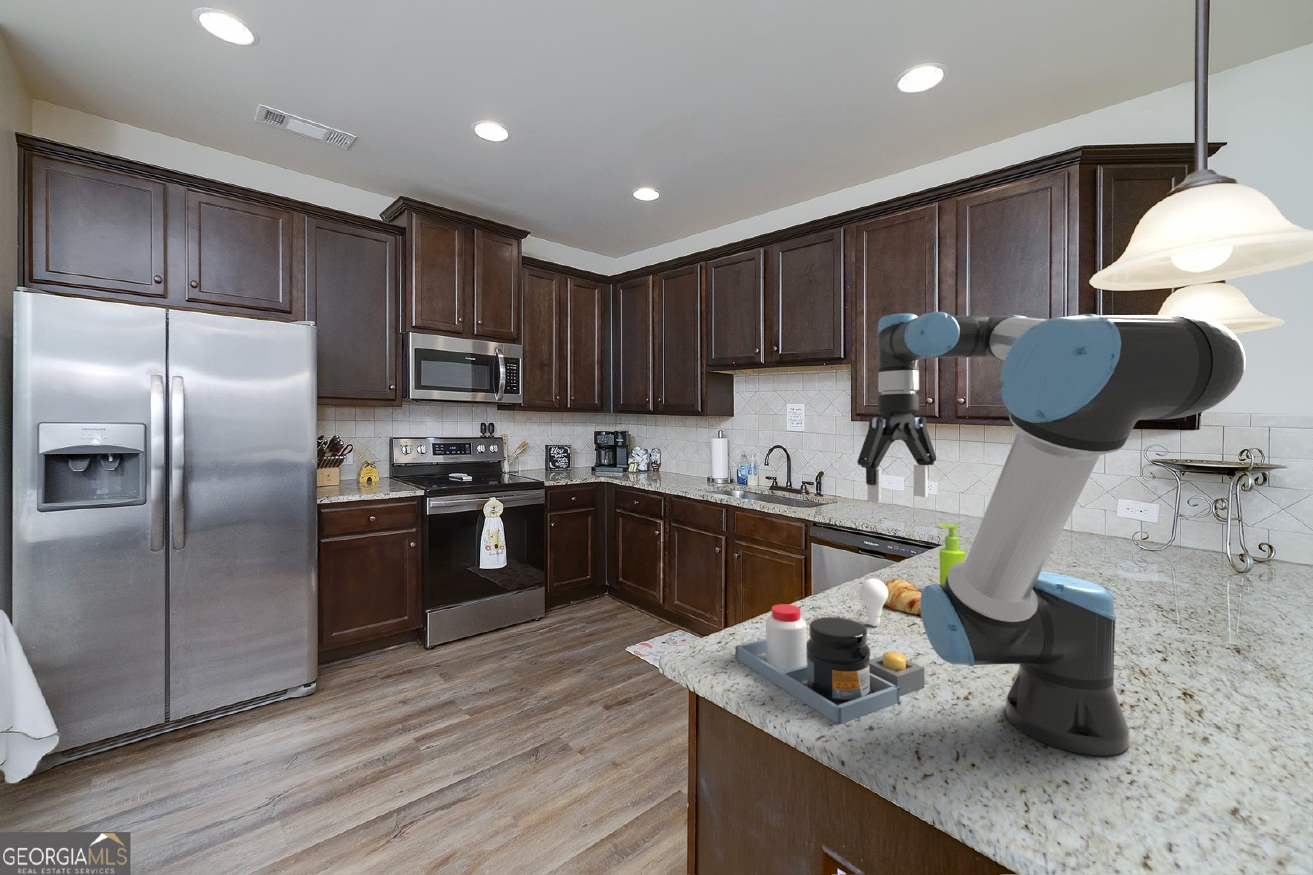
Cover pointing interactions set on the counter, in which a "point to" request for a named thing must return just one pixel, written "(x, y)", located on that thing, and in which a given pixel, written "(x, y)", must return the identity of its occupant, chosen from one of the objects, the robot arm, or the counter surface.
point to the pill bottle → (786, 638)
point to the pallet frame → (792, 684)
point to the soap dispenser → (950, 551)
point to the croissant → (903, 596)
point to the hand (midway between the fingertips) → (898, 499)
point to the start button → (894, 661)
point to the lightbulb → (874, 599)
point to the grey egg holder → (900, 675)
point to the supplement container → (838, 659)
